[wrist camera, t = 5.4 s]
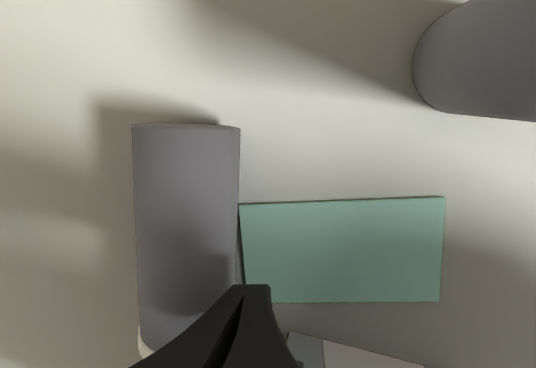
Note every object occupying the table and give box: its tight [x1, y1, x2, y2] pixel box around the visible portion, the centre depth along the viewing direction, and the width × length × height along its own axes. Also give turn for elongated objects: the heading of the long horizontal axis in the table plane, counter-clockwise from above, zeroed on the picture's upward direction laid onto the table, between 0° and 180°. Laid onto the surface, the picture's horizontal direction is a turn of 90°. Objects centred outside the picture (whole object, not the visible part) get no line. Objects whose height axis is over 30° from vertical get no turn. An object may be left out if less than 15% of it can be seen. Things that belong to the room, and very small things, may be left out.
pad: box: [239, 197, 445, 303], centre depth 16 cm, size 9×5×1 cm, turn 94°
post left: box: [132, 123, 240, 359], centre depth 14 cm, size 4×4×9 cm
